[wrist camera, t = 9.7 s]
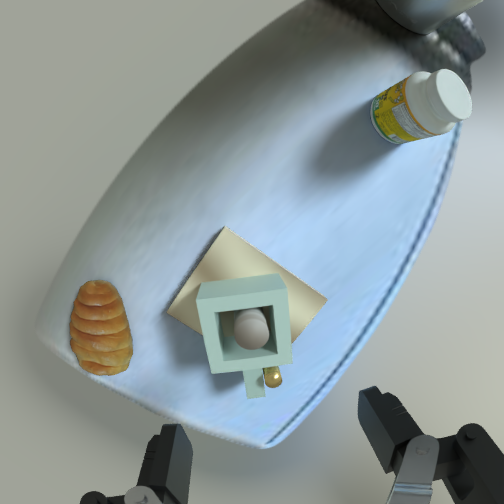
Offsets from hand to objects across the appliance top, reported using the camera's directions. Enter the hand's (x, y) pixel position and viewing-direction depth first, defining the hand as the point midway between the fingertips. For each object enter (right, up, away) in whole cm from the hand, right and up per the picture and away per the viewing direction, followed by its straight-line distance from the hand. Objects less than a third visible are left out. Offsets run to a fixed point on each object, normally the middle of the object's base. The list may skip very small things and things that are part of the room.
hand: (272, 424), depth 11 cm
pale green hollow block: (-1, 0, +14) cm, 14 cm away
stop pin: (+1, -2, +14) cm, 15 cm away
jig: (-1, +3, +15) cm, 15 cm away
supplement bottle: (+13, +21, +12) cm, 27 cm away
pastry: (-16, 0, +15) cm, 22 cm away
